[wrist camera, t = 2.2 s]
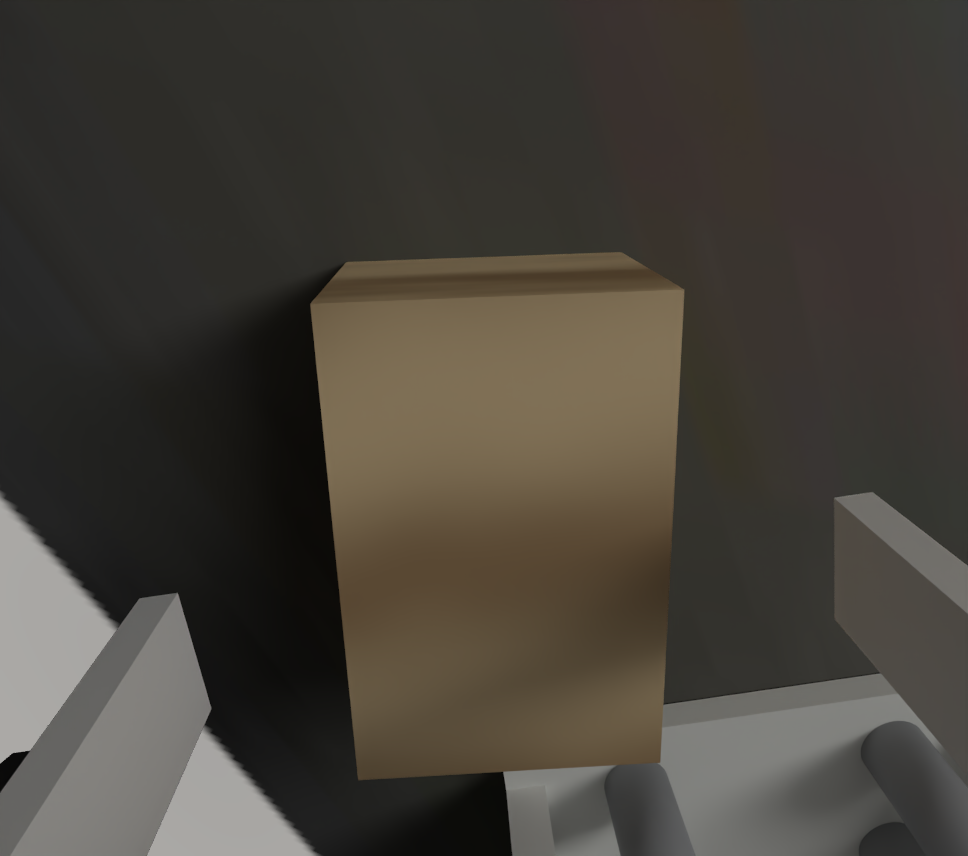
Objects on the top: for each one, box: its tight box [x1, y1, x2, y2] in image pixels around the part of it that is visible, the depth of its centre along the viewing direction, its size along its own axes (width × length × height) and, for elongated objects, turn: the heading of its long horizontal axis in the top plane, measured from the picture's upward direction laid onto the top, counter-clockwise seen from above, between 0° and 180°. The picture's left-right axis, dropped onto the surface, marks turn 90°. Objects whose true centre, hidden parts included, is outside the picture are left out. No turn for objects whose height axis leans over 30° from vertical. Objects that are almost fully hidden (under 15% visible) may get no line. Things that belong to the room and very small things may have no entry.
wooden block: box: [310, 252, 684, 780], centre depth 20 cm, size 11×7×6 cm, turn 2°
